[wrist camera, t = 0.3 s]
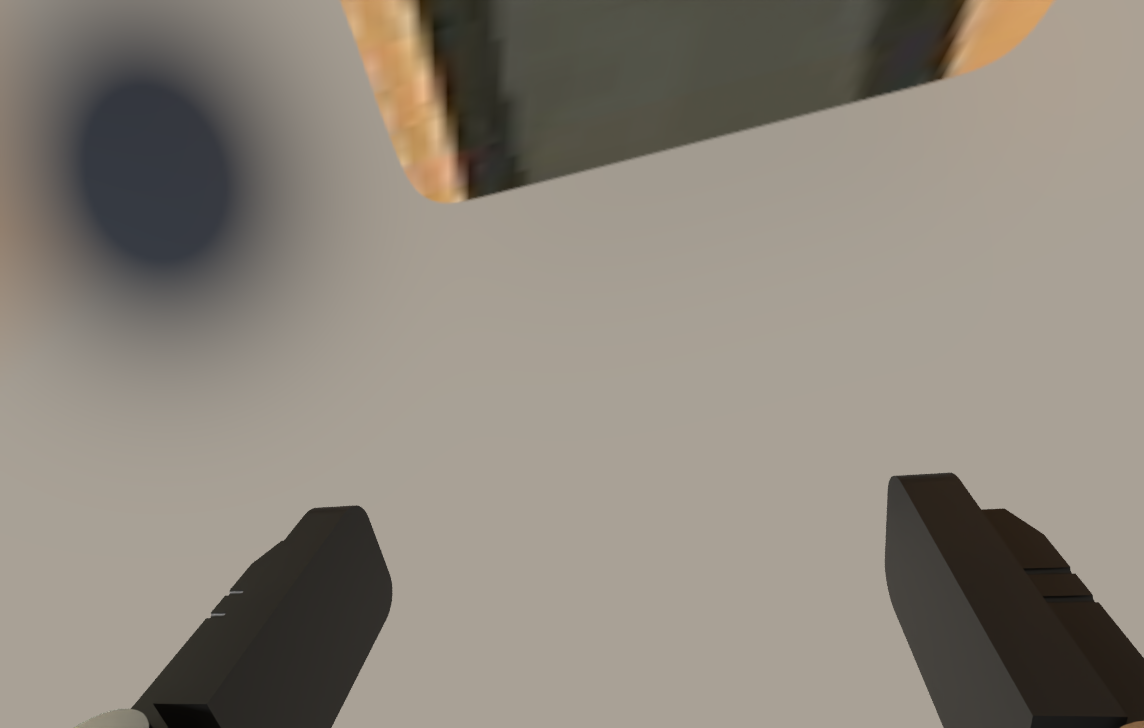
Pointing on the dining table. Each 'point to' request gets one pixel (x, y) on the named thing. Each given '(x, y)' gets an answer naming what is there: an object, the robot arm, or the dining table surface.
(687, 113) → the dining table surface
